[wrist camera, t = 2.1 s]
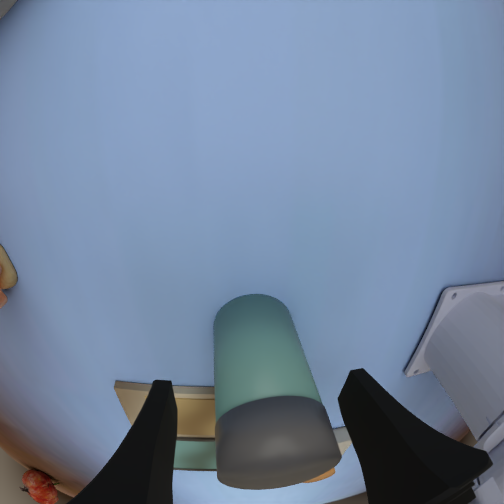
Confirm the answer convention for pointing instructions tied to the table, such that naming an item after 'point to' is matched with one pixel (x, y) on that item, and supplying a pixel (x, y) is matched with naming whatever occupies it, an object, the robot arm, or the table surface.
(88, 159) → the table surface
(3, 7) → the flag stand
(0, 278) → the grandmother figurine
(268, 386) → the green grey cylinder
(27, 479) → the pomegranate
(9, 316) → the table surface
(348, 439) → the button housing
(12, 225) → the table surface
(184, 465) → the picture board
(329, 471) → the button
